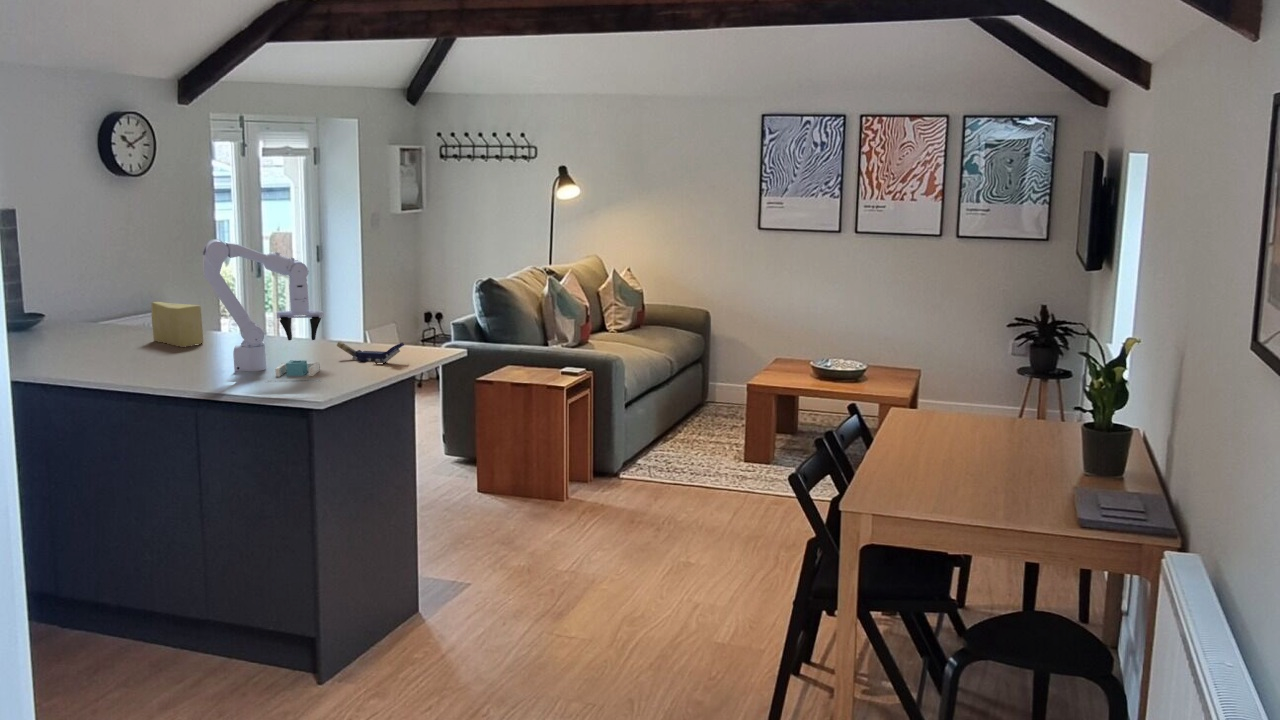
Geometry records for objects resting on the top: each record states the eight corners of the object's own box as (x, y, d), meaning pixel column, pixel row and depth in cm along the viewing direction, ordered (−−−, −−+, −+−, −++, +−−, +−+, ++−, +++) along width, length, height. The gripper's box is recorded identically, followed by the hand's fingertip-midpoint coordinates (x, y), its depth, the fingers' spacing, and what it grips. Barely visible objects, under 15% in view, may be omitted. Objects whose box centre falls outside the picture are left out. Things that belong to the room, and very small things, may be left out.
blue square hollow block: (287, 376, 355) (286, 363, 354) (291, 372, 360) (290, 360, 359) (303, 375, 355) (302, 363, 354) (307, 372, 360) (306, 360, 359)
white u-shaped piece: (275, 376, 354) (275, 368, 353) (283, 370, 363) (283, 363, 362) (312, 376, 354) (312, 368, 354) (319, 370, 363) (319, 362, 362)
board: (264, 385, 347) (263, 372, 346) (289, 367, 374) (288, 355, 373) (321, 384, 347) (320, 371, 346) (341, 366, 374) (340, 354, 373)
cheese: (143, 343, 421) (140, 303, 418) (166, 339, 429) (163, 299, 426) (182, 348, 410) (178, 307, 407) (204, 344, 418) (201, 304, 415)
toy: (390, 375, 375) (395, 346, 373) (328, 358, 378) (333, 329, 376) (402, 369, 384) (407, 341, 382) (342, 353, 388) (346, 325, 385)
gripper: (273, 300, 364) (275, 342, 366) (318, 299, 364) (321, 341, 367) (279, 297, 371) (281, 338, 373) (324, 296, 371) (326, 337, 374)
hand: (301, 339), depth 371 cm, fingers open, 7 cm apart
